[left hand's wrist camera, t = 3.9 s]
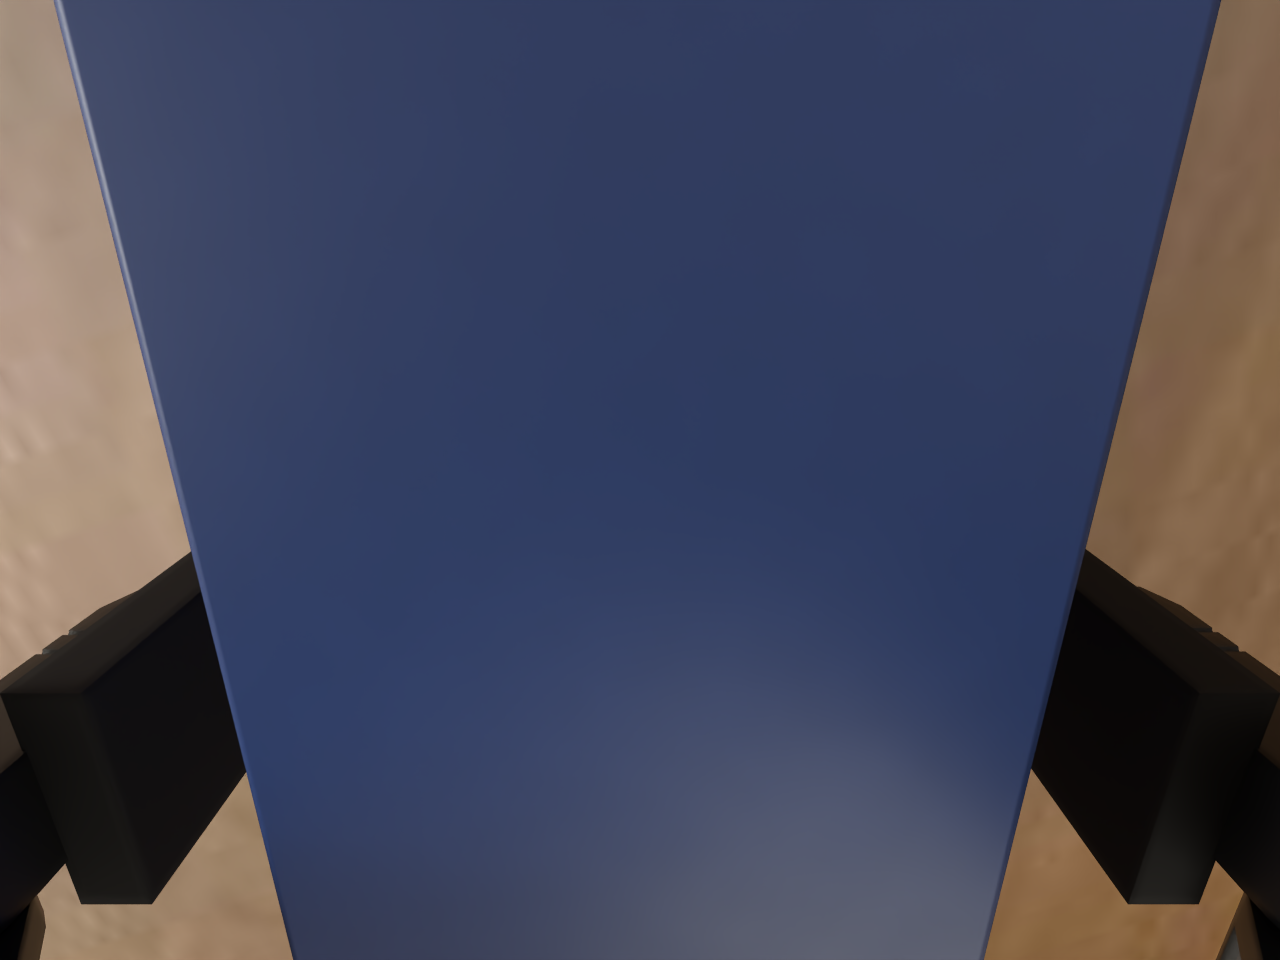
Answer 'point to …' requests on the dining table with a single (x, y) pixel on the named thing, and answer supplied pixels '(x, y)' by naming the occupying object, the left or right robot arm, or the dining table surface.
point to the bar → (637, 438)
